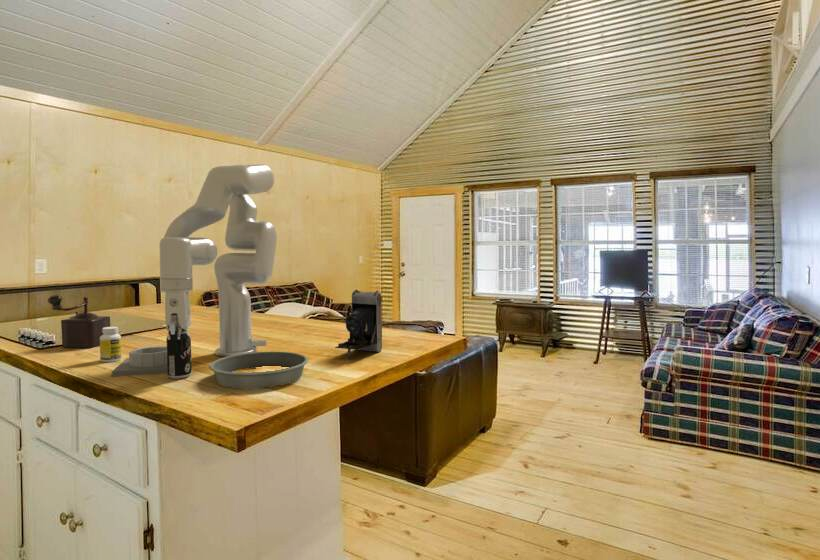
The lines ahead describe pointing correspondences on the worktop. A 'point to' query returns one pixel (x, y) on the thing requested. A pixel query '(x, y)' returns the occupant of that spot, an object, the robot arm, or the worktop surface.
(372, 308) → the vintage camera
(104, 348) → the supplement bottle
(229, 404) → the worktop surface
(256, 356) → the cake pan
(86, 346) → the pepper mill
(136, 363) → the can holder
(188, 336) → the beverage can
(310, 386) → the worktop surface
